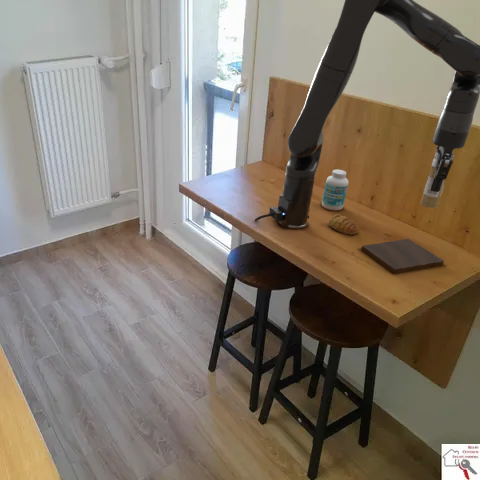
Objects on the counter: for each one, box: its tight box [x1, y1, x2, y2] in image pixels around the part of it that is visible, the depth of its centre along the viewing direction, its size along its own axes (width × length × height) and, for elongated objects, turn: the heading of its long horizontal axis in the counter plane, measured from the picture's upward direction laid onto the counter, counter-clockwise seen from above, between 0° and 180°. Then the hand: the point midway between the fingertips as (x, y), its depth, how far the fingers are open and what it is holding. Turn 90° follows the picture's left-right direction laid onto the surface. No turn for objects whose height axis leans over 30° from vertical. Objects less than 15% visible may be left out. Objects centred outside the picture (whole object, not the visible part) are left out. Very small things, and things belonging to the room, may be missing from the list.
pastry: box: [328, 214, 360, 235], centre depth 154 cm, size 9×7×4 cm
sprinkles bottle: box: [419, 158, 447, 209], centre depth 131 cm, size 5×5×13 cm
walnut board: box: [360, 238, 445, 275], centre depth 139 cm, size 17×14×2 cm
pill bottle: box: [321, 169, 350, 211], centre depth 168 cm, size 8×7×14 cm
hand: (433, 187), depth 132 cm, fingers closed on sprinkles bottle, 4 cm apart
